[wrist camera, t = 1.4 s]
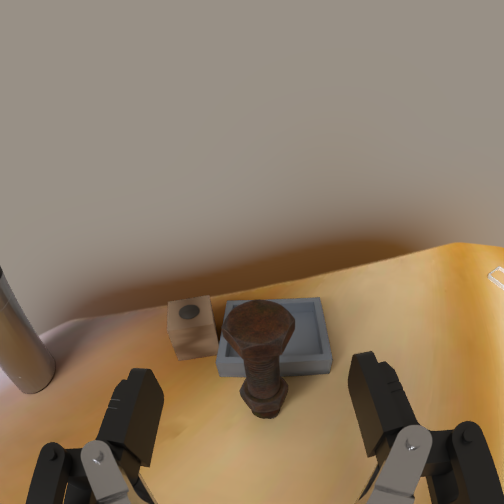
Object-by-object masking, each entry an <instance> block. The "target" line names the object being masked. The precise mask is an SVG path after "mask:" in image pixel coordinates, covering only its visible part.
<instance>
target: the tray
mask: <svg viewBox="0 0 504 504" xmlns="http://www.w3.org/2000/svg"><path fill="white" fill-rule="evenodd" d="M248 301H251V300H238V301H227V304H226V309H225V315H224V320H225V319H226V317H227V315H228V314H229V313H230V311H231V310H232V309H233V308H235V307H236V306H238V305H240V304H243V303H245V302H248ZM267 301H272V302H276V303H279V304H281V305H282V306H283V307H285V308H286V309H287V310H288V311H289V312H290V313H291V315H292V316H293V317H294V318H295V330H294V332H293V334H292V336H291V338H290V340H289V342H288V344H287V346H286V348H285V350H284V352H283V354H282V355H279V357H280V359H279V366H280V376H302V375H317V374H329V373H330V369H331V364H332V360H333V359H332V354H331V349H330V344H329V339H328V334H327V329H326V324H325V319H324V314H323V310H322V305H321V301H320V297H317V298H297V299H273V300H267ZM224 320H223V323H224ZM216 365H217V369H218V372H219V376H220V377H246V374H245V368H244V361H243V359H242V358H241V357H240V356H239V355H238V353H237V352H236V351H235V350H234V349H233V348H232V347H231V345H230V344H229V343H228V342H227V341H226V340H225V338H224V337H223V334H222V331H221V337H220V342H219V348H218V353H217V359H216Z"/></svg>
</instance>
